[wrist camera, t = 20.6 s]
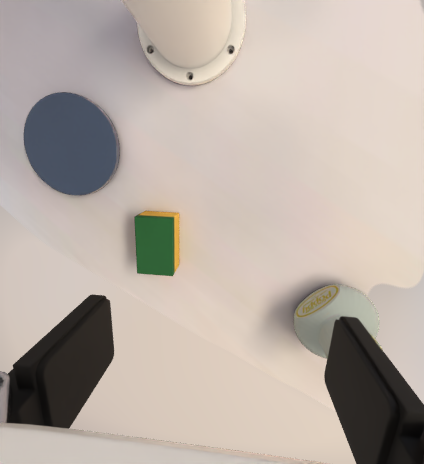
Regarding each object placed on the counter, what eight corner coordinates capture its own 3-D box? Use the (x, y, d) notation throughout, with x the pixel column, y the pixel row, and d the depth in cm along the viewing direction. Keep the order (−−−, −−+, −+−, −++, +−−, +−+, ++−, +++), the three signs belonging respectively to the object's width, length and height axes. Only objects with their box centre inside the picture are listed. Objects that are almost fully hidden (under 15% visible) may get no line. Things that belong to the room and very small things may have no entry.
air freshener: (342, 268, 36) (380, 307, 27) (376, 309, 37) (423, 360, 28) (280, 310, 39) (294, 359, 30) (313, 347, 40) (337, 405, 31)
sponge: (145, 210, 37) (134, 216, 33) (179, 212, 37) (172, 218, 33) (147, 262, 39) (137, 273, 35) (179, 264, 39) (172, 276, 35)
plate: (25, 94, 34) (15, 91, 33) (118, 95, 33) (113, 92, 32) (39, 191, 38) (31, 193, 36) (124, 196, 37) (119, 197, 35)
